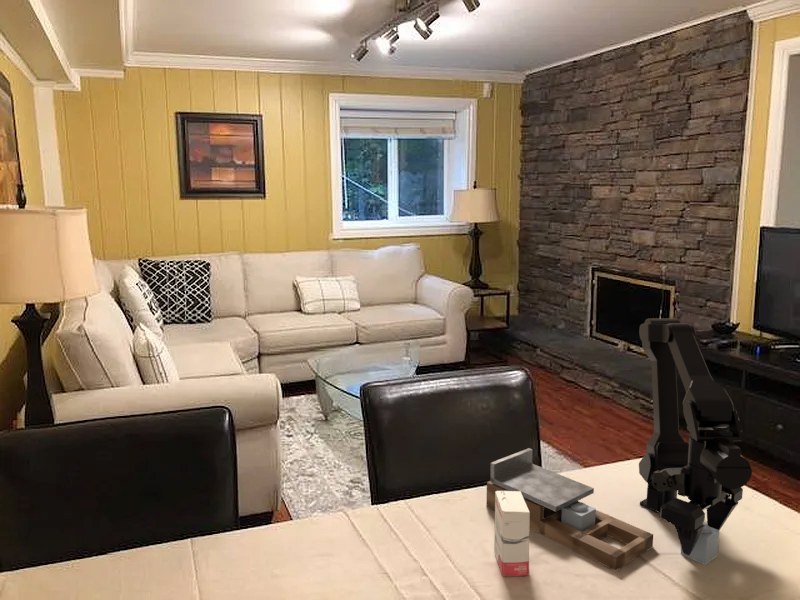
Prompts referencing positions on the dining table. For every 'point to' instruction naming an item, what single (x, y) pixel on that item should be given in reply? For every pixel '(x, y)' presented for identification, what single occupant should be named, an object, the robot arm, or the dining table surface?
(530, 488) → the lid
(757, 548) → the dining table surface
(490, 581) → the dining table surface
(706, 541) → the domed grey cube
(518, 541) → the ink box
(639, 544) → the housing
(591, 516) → the pale blue studded block
